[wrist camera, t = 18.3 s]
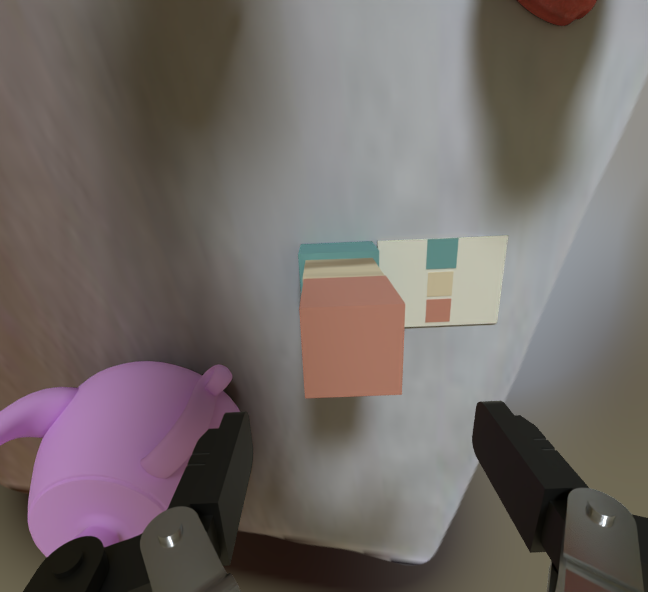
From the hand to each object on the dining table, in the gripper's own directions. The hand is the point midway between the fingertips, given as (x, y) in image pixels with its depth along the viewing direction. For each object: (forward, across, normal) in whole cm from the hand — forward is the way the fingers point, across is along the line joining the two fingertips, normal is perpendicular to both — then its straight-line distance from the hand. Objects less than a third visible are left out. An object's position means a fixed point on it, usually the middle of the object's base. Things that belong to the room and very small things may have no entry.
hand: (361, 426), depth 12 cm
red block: (+10, 0, 0) cm, 10 cm away
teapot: (+20, +19, +13) cm, 30 cm away
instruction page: (+19, -9, +1) cm, 21 cm away
